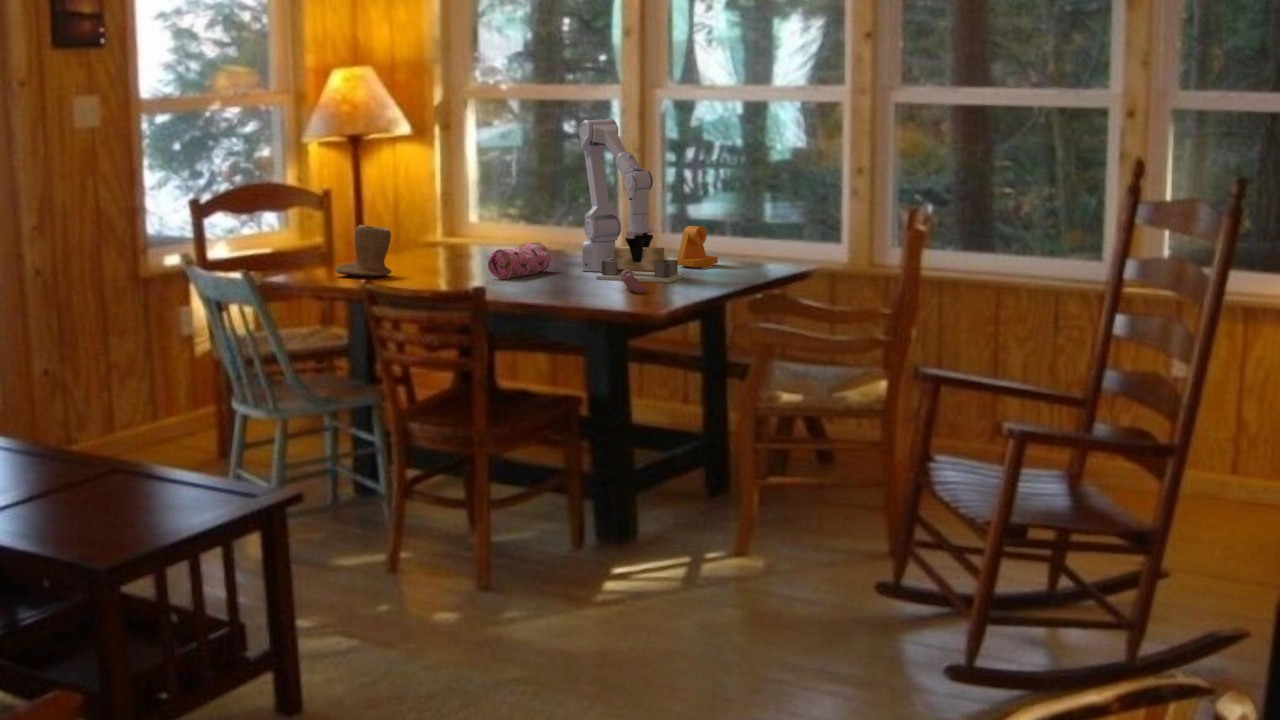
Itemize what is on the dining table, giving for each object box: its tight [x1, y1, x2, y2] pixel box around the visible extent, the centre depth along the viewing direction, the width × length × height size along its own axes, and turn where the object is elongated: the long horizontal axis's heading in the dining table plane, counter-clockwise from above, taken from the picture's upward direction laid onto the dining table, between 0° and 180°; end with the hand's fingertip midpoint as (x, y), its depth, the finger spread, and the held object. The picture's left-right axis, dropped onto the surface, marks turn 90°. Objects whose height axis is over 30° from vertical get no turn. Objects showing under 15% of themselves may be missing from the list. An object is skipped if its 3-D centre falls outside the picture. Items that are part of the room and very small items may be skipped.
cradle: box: [595, 258, 684, 283], centre depth 493 cm, size 22×12×5 cm, turn 69°
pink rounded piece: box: [619, 269, 645, 294], centre depth 469 cm, size 10×5×7 cm, turn 5°
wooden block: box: [614, 246, 665, 271], centre depth 492 cm, size 14×4×6 cm, turn 69°
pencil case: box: [487, 241, 551, 280], centre depth 501 cm, size 21×9×9 cm, turn 151°
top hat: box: [334, 224, 392, 278], centre depth 503 cm, size 15×12×15 cm
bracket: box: [676, 225, 718, 269], centre depth 515 cm, size 11×7×12 cm, turn 138°
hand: (639, 261), depth 492 cm, fingers closed on wooden block, 3 cm apart
